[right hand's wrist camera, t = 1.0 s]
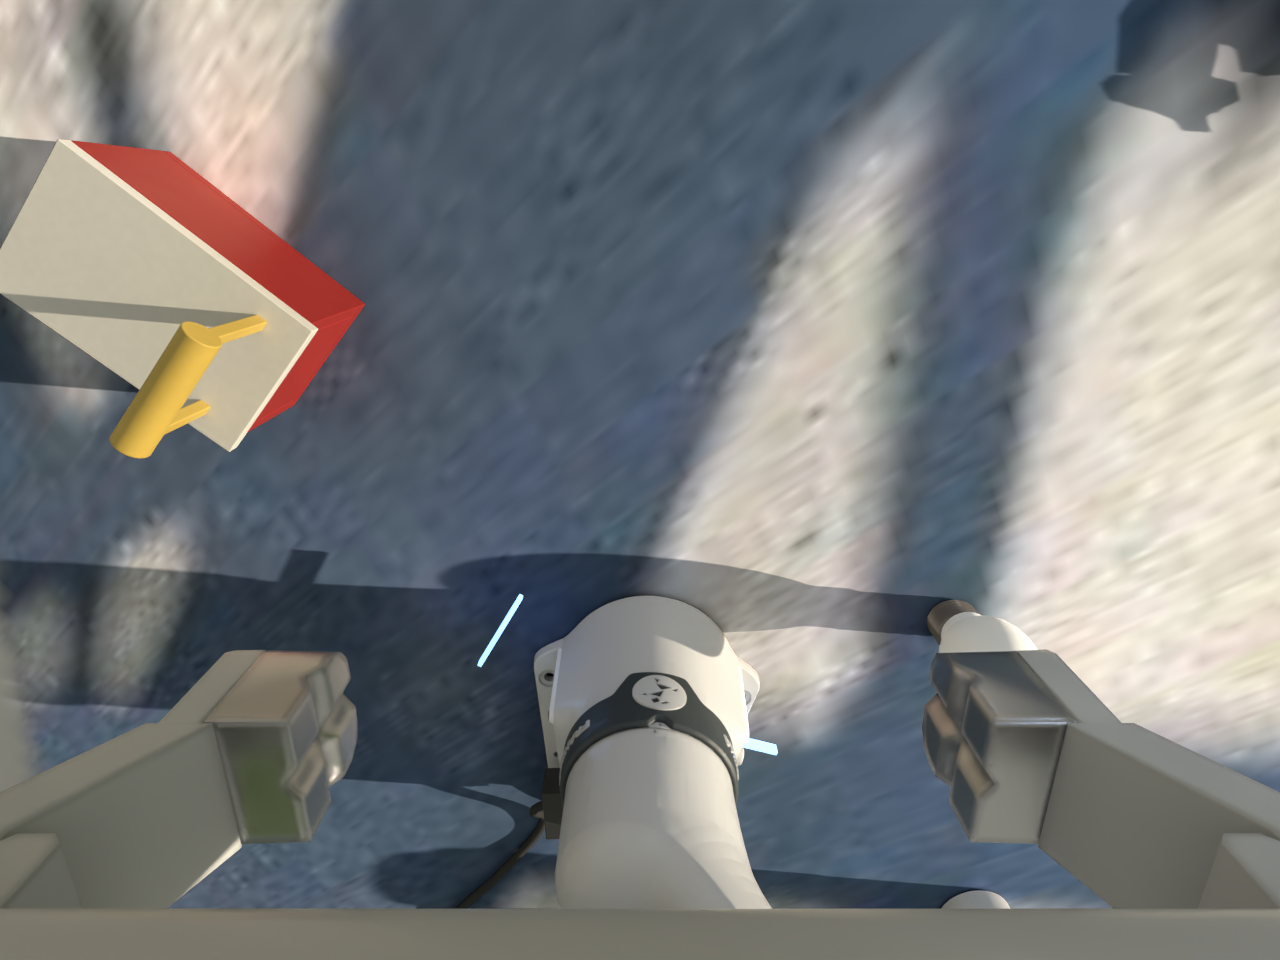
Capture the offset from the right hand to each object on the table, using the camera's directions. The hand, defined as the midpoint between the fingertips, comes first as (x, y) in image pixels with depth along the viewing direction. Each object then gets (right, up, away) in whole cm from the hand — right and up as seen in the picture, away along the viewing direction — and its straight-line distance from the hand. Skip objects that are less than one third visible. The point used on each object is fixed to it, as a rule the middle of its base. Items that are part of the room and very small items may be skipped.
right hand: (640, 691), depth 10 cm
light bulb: (+26, -8, +50) cm, 57 cm away
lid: (-28, +13, +32) cm, 45 cm away
